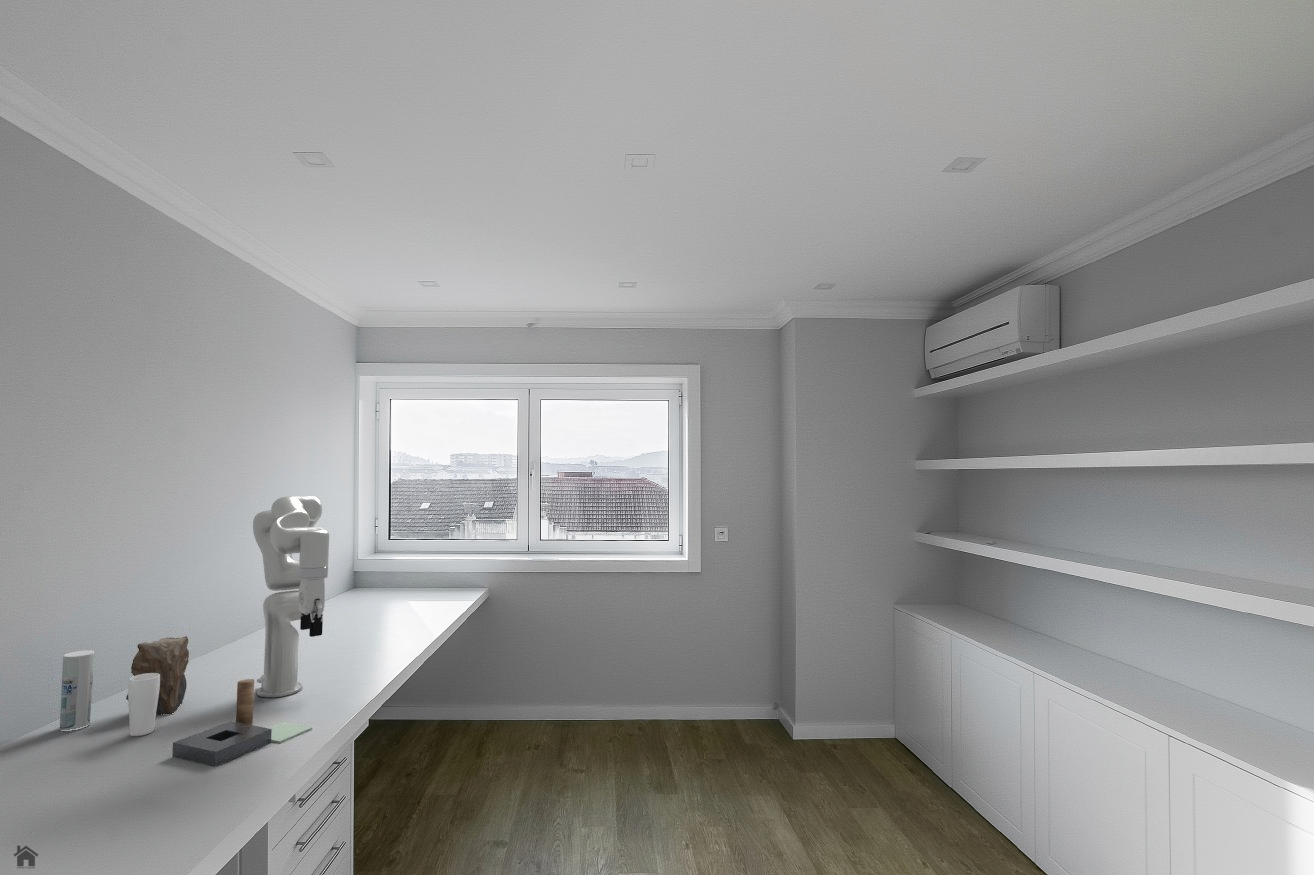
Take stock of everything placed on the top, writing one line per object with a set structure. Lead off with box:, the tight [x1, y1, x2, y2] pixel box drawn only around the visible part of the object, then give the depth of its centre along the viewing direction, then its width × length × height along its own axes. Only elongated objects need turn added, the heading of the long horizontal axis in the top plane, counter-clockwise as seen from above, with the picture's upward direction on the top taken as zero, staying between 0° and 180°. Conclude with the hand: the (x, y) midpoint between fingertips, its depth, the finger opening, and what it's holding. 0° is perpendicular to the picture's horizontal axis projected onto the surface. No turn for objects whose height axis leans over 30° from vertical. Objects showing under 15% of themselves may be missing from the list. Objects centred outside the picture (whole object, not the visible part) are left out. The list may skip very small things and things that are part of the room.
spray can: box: [59, 650, 95, 731], centre depth 179 cm, size 6×6×20 cm
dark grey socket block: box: [171, 720, 272, 768], centre depth 166 cm, size 15×15×4 cm
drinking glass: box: [127, 673, 160, 737], centre depth 176 cm, size 7×7×15 cm
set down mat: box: [267, 721, 313, 744], centre depth 176 cm, size 11×10×1 cm
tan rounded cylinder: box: [235, 678, 255, 725], centre depth 182 cm, size 4×4×12 cm
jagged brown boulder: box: [125, 635, 190, 716], centre depth 194 cm, size 13×13×20 cm
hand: (310, 632), depth 188 cm, fingers open, 9 cm apart
